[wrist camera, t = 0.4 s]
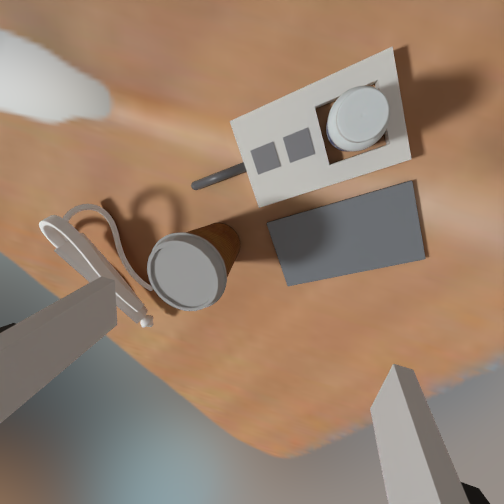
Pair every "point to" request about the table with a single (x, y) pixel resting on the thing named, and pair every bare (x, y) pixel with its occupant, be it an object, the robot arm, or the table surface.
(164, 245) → the disposable coffee cup
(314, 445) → the table surface
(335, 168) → the socket strip
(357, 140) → the pill bottle
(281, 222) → the rubber mat
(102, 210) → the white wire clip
